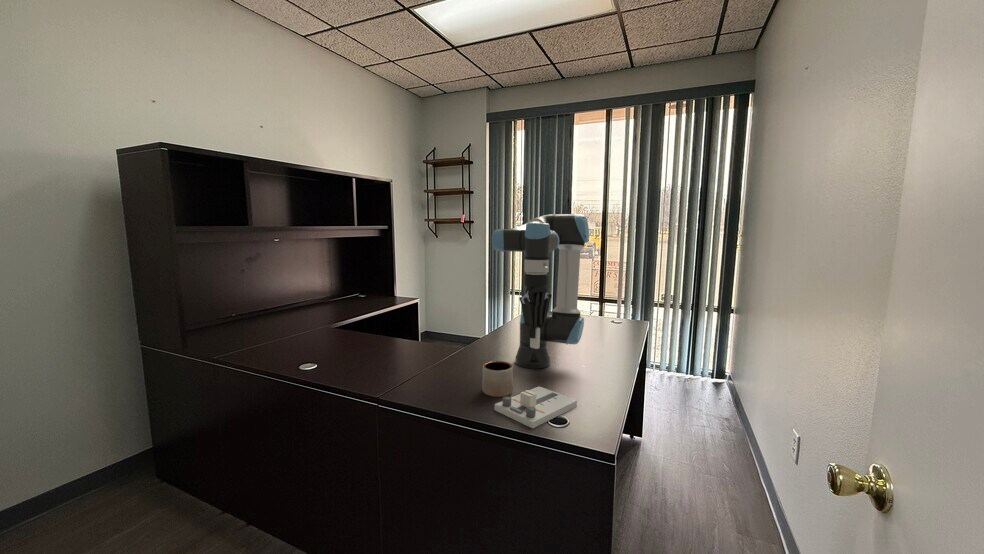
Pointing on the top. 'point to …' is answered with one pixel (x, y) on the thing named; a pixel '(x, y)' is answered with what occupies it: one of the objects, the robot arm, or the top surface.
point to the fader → (528, 399)
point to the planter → (497, 378)
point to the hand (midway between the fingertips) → (534, 347)
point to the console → (536, 407)
